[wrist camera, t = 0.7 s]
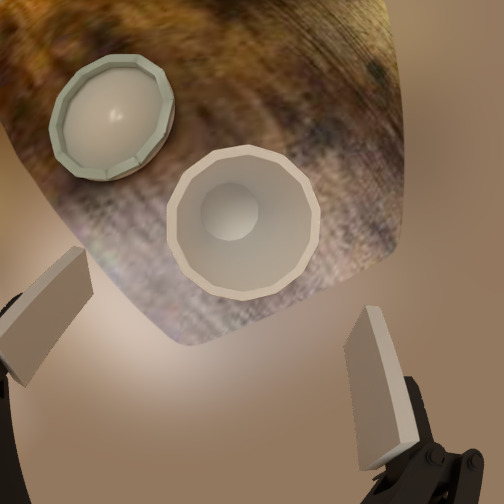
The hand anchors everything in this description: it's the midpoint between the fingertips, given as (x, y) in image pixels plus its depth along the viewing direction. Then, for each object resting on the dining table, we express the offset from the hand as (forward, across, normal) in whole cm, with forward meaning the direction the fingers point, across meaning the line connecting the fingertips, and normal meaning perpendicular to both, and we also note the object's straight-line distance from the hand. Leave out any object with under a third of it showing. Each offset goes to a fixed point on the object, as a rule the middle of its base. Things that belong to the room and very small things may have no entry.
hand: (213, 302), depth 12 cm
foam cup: (+18, -2, -3) cm, 18 cm away
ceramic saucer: (+18, -16, +6) cm, 25 cm away
